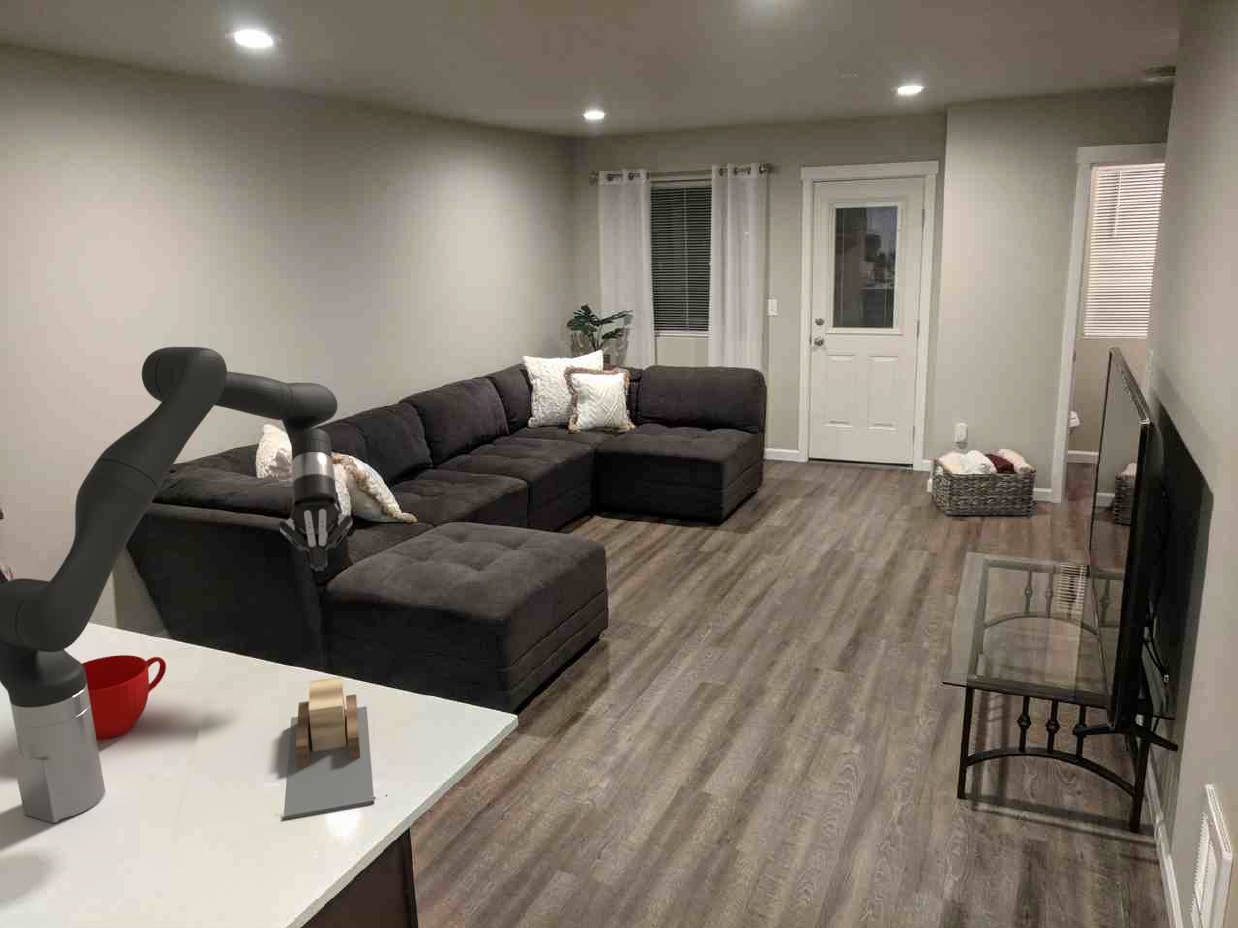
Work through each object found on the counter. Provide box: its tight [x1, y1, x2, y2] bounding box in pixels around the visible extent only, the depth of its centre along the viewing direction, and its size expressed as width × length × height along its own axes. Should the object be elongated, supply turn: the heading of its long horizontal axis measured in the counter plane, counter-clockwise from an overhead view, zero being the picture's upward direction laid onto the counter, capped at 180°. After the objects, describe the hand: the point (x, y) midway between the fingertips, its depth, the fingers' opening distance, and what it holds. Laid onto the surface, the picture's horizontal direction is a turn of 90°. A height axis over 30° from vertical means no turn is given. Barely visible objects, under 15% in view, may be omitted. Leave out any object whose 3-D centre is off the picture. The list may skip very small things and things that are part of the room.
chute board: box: [283, 705, 375, 820], centre depth 143 cm, size 28×12×1 cm, turn 17°
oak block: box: [308, 676, 347, 752], centre depth 149 cm, size 10×5×7 cm, turn 17°
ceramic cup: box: [81, 654, 167, 740], centre depth 153 cm, size 13×17×10 cm
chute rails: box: [296, 694, 360, 768], centre depth 148 cm, size 14×9×4 cm, turn 17°
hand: (319, 568), depth 162 cm, fingers closed
